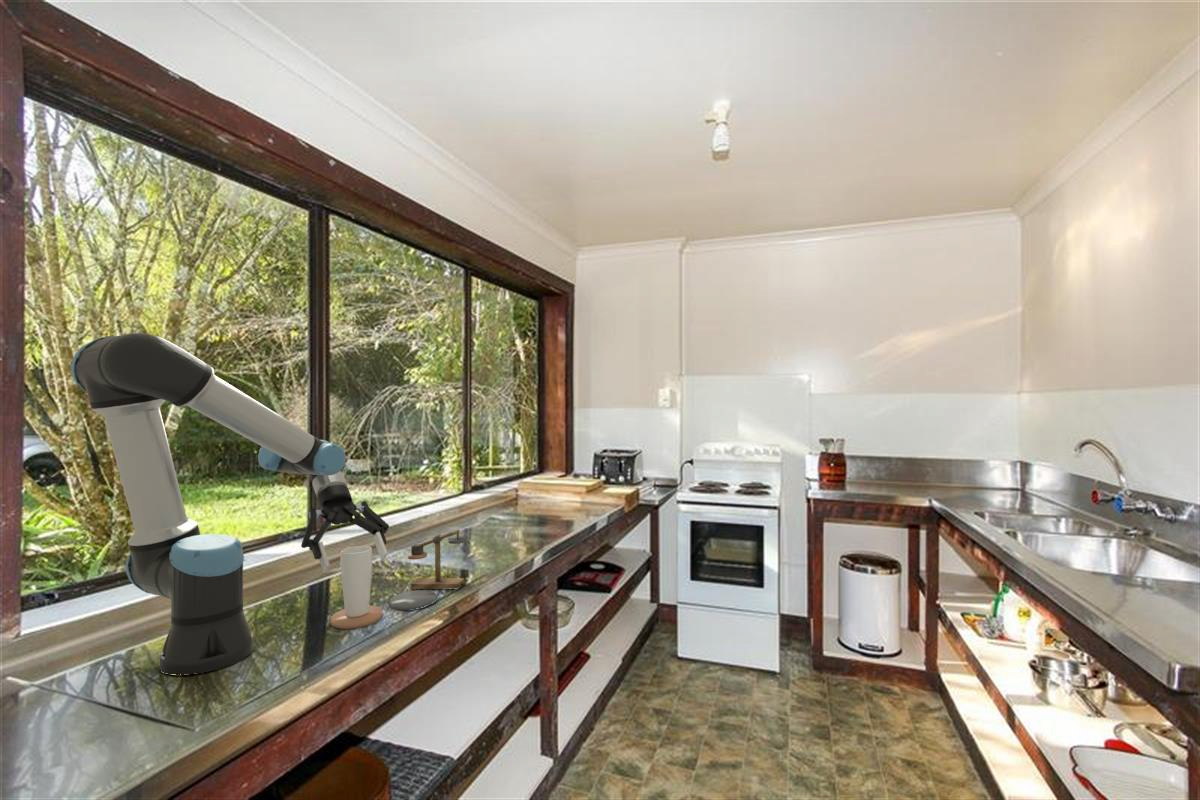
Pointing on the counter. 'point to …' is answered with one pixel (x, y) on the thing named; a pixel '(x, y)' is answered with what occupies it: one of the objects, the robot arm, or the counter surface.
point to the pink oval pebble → (356, 619)
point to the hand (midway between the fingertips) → (356, 562)
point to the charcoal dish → (412, 599)
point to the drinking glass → (356, 579)
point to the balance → (436, 563)
